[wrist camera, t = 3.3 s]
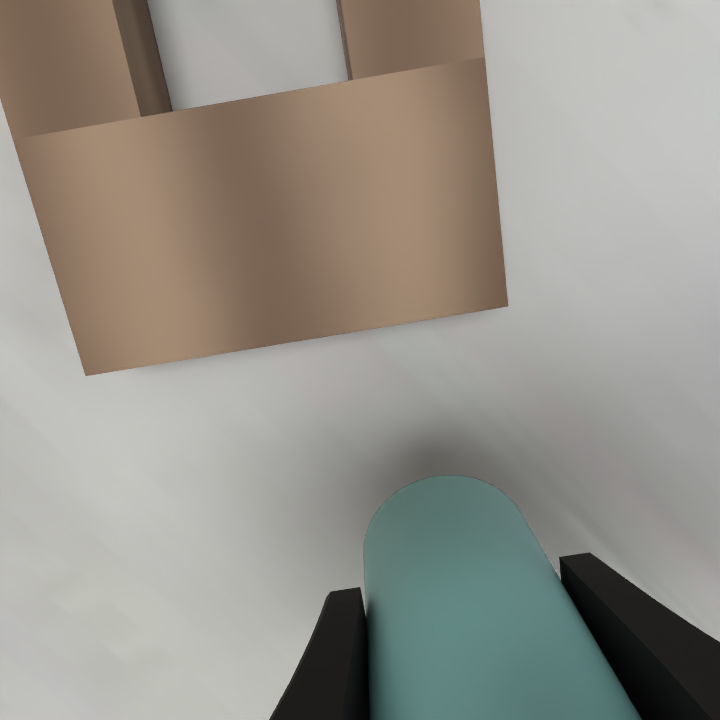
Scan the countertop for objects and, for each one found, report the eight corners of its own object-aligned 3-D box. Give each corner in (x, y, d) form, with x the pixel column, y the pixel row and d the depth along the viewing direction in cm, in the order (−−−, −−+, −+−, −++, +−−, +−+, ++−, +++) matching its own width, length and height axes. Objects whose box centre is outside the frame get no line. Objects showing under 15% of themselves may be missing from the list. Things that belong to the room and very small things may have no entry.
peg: (521, 462, 12) (734, 761, 5) (535, 607, 13) (728, 1011, 6) (350, 489, 12) (351, 815, 6) (377, 631, 13) (404, 1053, 7)
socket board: (406, -427, 13) (422, -612, 10) (481, 292, 18) (507, 306, 15) (-66, -335, 13) (-181, -489, 10) (128, 351, 18) (85, 375, 15)
